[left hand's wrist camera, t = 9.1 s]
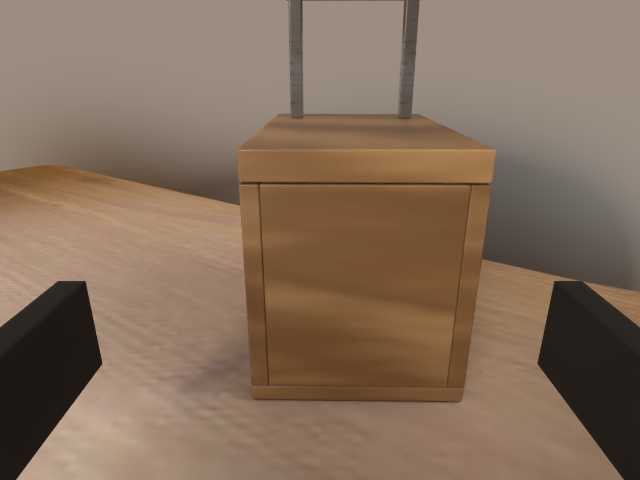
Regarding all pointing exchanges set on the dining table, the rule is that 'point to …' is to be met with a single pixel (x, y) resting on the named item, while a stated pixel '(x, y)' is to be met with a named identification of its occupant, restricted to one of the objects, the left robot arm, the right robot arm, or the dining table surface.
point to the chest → (361, 288)
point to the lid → (361, 134)
